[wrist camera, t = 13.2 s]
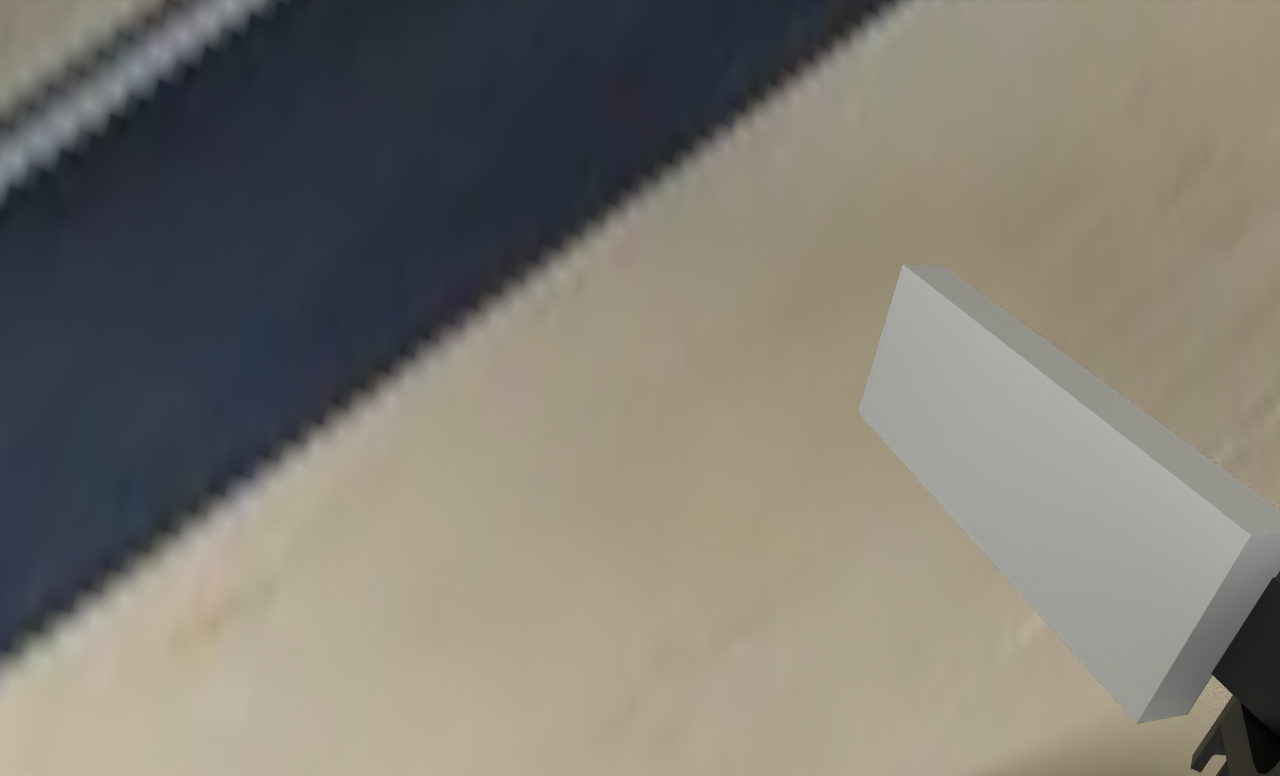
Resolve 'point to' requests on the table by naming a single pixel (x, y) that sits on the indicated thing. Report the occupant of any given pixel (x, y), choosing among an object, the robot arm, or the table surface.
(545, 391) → the table surface
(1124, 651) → the robot arm
